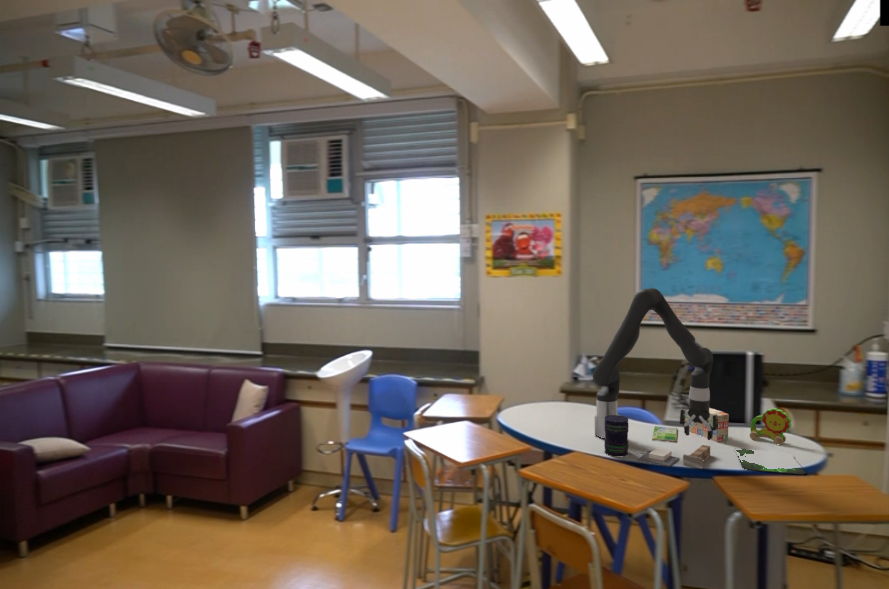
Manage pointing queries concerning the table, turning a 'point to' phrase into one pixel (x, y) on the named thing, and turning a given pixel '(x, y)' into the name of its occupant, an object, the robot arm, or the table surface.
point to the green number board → (665, 434)
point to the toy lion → (772, 426)
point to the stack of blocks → (718, 434)
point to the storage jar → (616, 435)
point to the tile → (660, 454)
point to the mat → (667, 462)
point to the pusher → (697, 457)
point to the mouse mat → (760, 468)
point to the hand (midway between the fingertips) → (698, 437)
